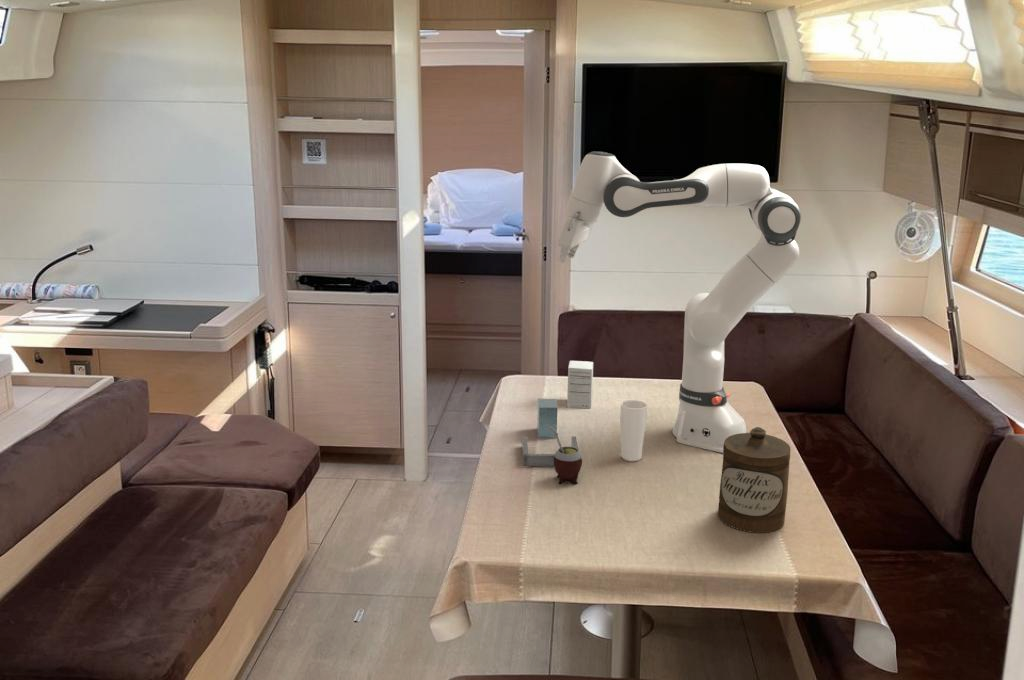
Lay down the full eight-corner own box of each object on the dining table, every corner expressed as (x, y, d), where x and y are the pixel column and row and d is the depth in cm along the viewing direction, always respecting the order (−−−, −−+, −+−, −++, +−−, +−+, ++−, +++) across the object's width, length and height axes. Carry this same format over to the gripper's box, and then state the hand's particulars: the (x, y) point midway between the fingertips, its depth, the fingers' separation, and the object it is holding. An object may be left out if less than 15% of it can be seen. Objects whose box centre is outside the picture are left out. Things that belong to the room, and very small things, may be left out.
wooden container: (712, 526, 214) (720, 434, 208) (723, 499, 228) (730, 412, 221) (780, 538, 209) (790, 445, 203) (787, 510, 222) (796, 422, 216)
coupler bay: (522, 446, 257) (522, 436, 256) (575, 446, 257) (575, 436, 256) (523, 466, 244) (523, 455, 243) (579, 466, 244) (580, 455, 244)
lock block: (537, 427, 270) (537, 397, 268) (554, 427, 270) (555, 397, 268) (538, 438, 263) (539, 407, 260) (556, 438, 263) (557, 407, 260)
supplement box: (568, 399, 293) (569, 360, 290) (592, 400, 292) (594, 361, 289) (566, 407, 286) (567, 367, 283) (591, 409, 285) (592, 368, 282)
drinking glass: (647, 455, 252) (650, 402, 248) (639, 465, 246) (642, 410, 242) (623, 451, 255) (625, 398, 250) (614, 460, 249) (617, 406, 245)
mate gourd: (587, 480, 237) (589, 423, 232) (566, 490, 231) (568, 432, 227) (564, 471, 242) (565, 416, 237) (543, 480, 236) (545, 424, 232)
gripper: (585, 218, 243) (567, 269, 247) (601, 211, 262) (585, 258, 266) (562, 210, 244) (545, 260, 248) (580, 203, 263) (564, 250, 267)
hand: (566, 259), depth 257 cm, fingers open, 8 cm apart
